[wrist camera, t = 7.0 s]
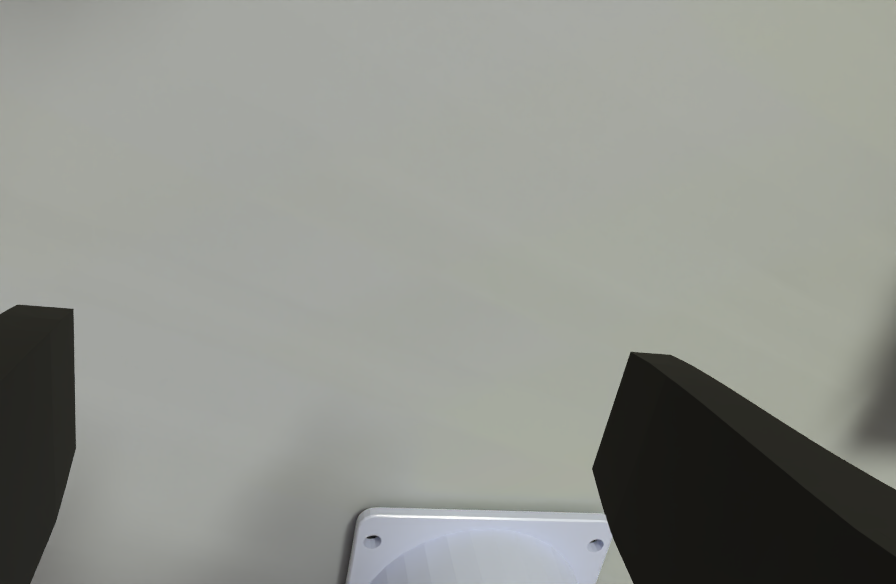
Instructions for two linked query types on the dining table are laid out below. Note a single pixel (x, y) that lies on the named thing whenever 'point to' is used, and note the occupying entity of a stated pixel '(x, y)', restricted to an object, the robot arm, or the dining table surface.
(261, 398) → the dining table surface
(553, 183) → the dining table surface
